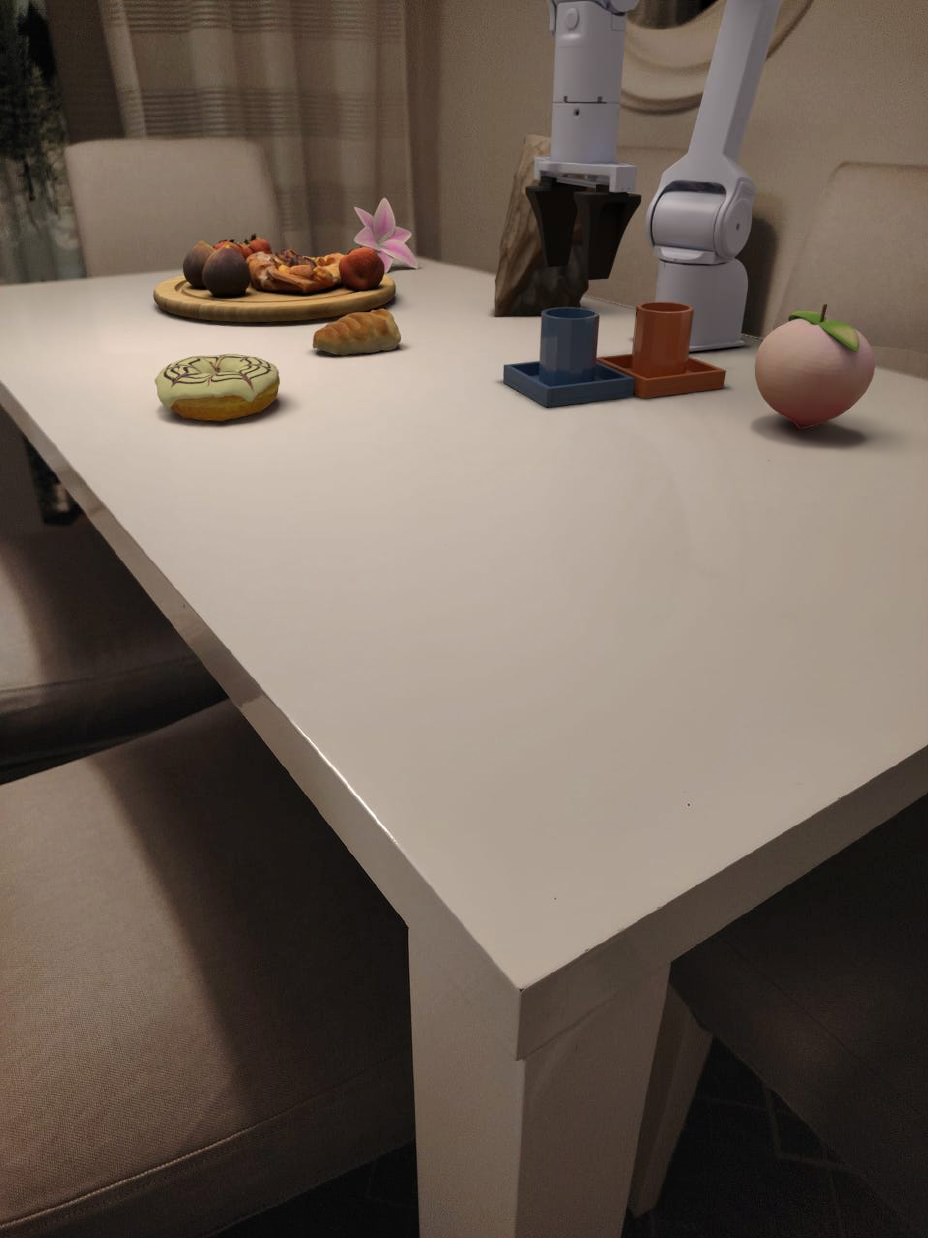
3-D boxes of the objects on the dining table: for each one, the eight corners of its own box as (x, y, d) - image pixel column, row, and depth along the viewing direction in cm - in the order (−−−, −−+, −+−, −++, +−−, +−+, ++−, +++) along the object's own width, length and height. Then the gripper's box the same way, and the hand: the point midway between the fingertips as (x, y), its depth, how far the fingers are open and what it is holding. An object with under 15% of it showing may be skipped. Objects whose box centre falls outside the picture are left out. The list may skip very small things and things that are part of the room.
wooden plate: (442, 294, 127) (441, 230, 123) (287, 338, 103) (280, 261, 99) (272, 273, 142) (266, 215, 138) (103, 307, 118) (90, 239, 114)
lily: (343, 281, 141) (365, 225, 135) (329, 240, 148) (349, 185, 142) (411, 300, 148) (435, 247, 141) (394, 260, 154) (417, 208, 148)
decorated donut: (147, 426, 75) (139, 381, 74) (174, 390, 85) (167, 349, 83) (273, 423, 76) (268, 378, 74) (286, 388, 85) (282, 347, 83)
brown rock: (504, 297, 125) (508, 132, 115) (596, 300, 123) (608, 133, 113) (489, 315, 114) (492, 136, 104) (590, 320, 112) (603, 137, 102)
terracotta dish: (669, 365, 93) (671, 349, 92) (723, 388, 86) (726, 370, 85) (593, 374, 90) (594, 357, 89) (643, 398, 83) (645, 380, 82)
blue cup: (576, 374, 88) (581, 305, 85) (604, 388, 84) (610, 316, 81) (528, 379, 86) (531, 309, 83) (555, 394, 82) (559, 320, 79)
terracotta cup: (664, 367, 91) (672, 299, 88) (696, 380, 87) (705, 309, 83) (619, 372, 89) (626, 303, 86) (650, 386, 85) (657, 314, 82)
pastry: (333, 361, 94) (330, 323, 92) (300, 349, 99) (297, 313, 97) (406, 348, 99) (405, 312, 98) (372, 337, 104) (370, 302, 102)
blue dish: (583, 372, 91) (585, 355, 90) (632, 396, 84) (634, 378, 83) (502, 382, 88) (503, 364, 87) (546, 407, 80) (547, 388, 80)
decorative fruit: (722, 418, 78) (740, 297, 73) (798, 408, 81) (820, 290, 76) (797, 453, 70) (823, 320, 65) (878, 439, 73) (908, 311, 68)
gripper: (506, 102, 81) (503, 263, 88) (588, 103, 70) (576, 288, 77) (575, 102, 84) (566, 259, 91) (665, 103, 72) (647, 282, 79)
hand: (575, 272), depth 84 cm, fingers open, 7 cm apart
